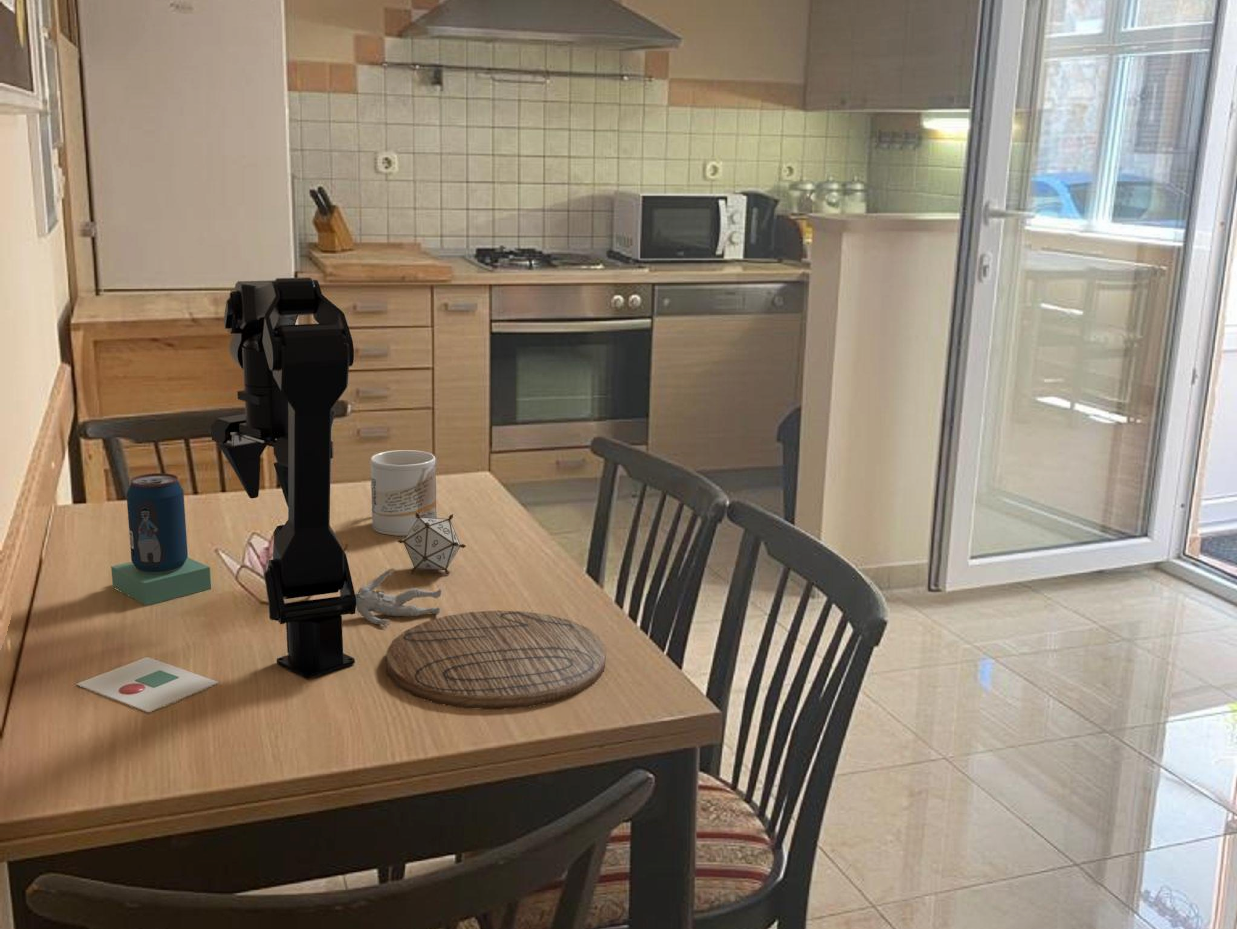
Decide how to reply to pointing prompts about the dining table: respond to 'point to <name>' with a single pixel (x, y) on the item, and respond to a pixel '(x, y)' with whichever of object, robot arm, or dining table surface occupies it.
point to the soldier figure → (390, 602)
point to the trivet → (496, 659)
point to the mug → (402, 490)
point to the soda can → (157, 523)
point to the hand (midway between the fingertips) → (273, 505)
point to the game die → (432, 543)
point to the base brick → (161, 582)
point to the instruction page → (147, 684)
